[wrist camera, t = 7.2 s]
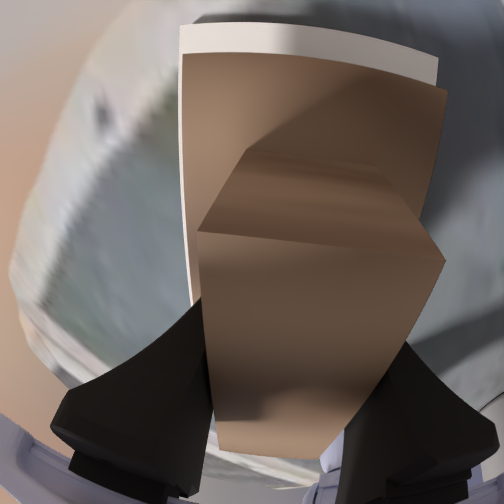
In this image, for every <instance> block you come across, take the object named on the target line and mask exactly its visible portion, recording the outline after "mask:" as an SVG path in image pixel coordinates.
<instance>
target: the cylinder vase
mask: <svg viewBox="0 0 504 504" xmlns="http://www.w3.org/2000/svg"><path fill="white" fill-rule="evenodd" d="M479 413H481V414H482V415H483V416H485V417H486V418H488V419H489V420H491V421H492V422H494V423H495V426H496V430H497V434H498V438H499V443H500V447H499V449H498V451H497V452H496V453H495V454H494V455H492V456H491V457H489V458H488V459H486V460H485V461H483V462H482V463H481V468H482V475H483V482H486V481H488V480H490V479H493V478H495V477H497V476H498V475H500V474H501V473H503V472H504V393H503V394H501V395H500V396H498V397H497V398H495V399H494V400H493V401H491V402H490V403H489V404H487V405H486V406H485V407H484V408H483V409H482V410H481V411H480V412H479Z"/></svg>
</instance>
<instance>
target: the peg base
mask: <svg viewBox="0 0 504 504" xmlns="http://www.w3.org/2000/svg"><path fill="white" fill-rule="evenodd" d="M208 52H253V53H273V54H286V55H297V56H306V57H314V58H321V59H328V60H334V61H340V62H346V63H351V64H356V65H361V66H366V67H370V68H375V69H379V70H383V71H387V72H391V73H395V74H398V75H402V76H405V77H409V78H412V79H415V80H419V81H422V82H425V83H428V84H431V85H434V86H436V79H437V70H438V57H435V56H432V55H430V54H427V53H424V52H421V51H418V50H415V49H412V48H409V47H406V46H402V45H399V44H395V43H392V42H388V41H384V40H380V39H376V38H372V37H368V36H364V35H359V34H354V33H349V32H344V31H338V30H332V29H326V28H319V27H311V26H303V25H293V24H280V23H261V22H221V23H202V24H189V25H180V42H179V79H178V121H179V160H180V183H181V201H182V216H183V230H184V242H185V254H186V264H187V274H188V284H189V293H190V302H191V307H192V306H193V298H192V288H191V278H190V268H189V257H188V245H187V231H186V217H185V200H184V180H183V154H182V56H183V54H189V53H208Z"/></svg>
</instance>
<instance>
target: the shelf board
mask: <svg viewBox="0 0 504 504" xmlns="http://www.w3.org/2000/svg"><path fill="white" fill-rule="evenodd" d="M447 95H448V90H445V89H442V88H440V87H437V86H434V85H431V84H428V83H425V82H422V81H419V80H415V79H412V78H409V77H405V76H402V75H398V74H395V73H391V72H387V71H383V70H379V69H375V68H370V67H366V66H361V65H356V64H351V63H346V62H340V61H334V60H328V59H321V58H314V57H306V56H297V55H286V54H273V53H253V52H208V53H189V54H183V56H182V154H183V180H184V200H185V217H186V231H187V245H188V257H189V268H190V278H191V288H192V298H193V305H194V304H195V302H196V301H197V300H198V299H199V298H200V297H201V301H202V313H203V324H204V334H205V344H206V353H207V362H208V371H209V379H210V387H211V395H212V402H213V410H214V417H215V424H216V430H217V437H218V443H219V450H223V451H229V452H235V453H242V454H250V455H258V456H268V457H280V458H295V459H318V458H319V457H320V456H321V455H322V453H323V452H324V451H325V450H326V449H327V448H328V447H329V446H330V444H331V443H332V442H333V441H334V440H335V439H336V438H337V436H338V435H339V434H340V433H341V432H342V430H343V429H344V428H345V427H346V425H347V424H348V423H349V422H350V420H351V419H352V418H353V417H354V415H355V414H356V413H357V411H358V410H359V409H360V408H361V406H362V405H363V404H364V402H365V401H366V400H367V398H368V397H369V395H370V394H371V393H372V391H373V390H374V388H375V387H376V386H377V384H378V383H379V381H380V380H381V378H382V377H383V375H384V374H385V372H386V371H387V369H388V368H389V366H390V365H391V363H392V362H393V360H394V358H395V357H396V355H397V354H398V352H399V350H400V349H401V347H402V345H403V344H404V342H405V340H406V339H407V337H408V335H409V333H410V332H411V330H412V328H413V326H414V325H415V323H416V321H417V319H418V317H419V315H420V314H421V312H422V310H423V308H424V306H425V304H426V302H427V300H428V298H429V296H430V294H431V292H432V290H433V288H434V286H435V284H436V282H437V280H438V277H439V275H440V273H441V271H442V269H443V266H444V264H445V262H446V260H445V258H444V256H443V255H442V253H441V252H440V250H439V249H438V247H437V246H436V244H435V243H434V241H433V240H432V238H431V237H430V235H429V234H428V232H427V231H426V230H425V228H424V227H423V225H422V224H421V223H420V221H419V219H420V216H421V212H422V209H423V206H424V202H425V199H426V195H427V192H428V188H429V184H430V181H431V177H432V173H433V169H434V165H435V160H436V156H437V151H438V147H439V142H440V137H441V132H442V126H443V121H444V115H445V109H446V102H447Z"/></svg>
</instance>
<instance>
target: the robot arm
mask: <svg viewBox="0 0 504 504" xmlns="http://www.w3.org/2000/svg"><path fill="white" fill-rule="evenodd" d="M212 413H213V402H212V395H211V387H210V379H209V371H208V362H207V353H206V344H205V334H204V324H203V313H202V301H201V297H200V298H199V299H198V300H197V301H196V302H195V304H194V305H193V306H192V307H191V308H190V309H189V310H188V311H187V312H186V313H185V314H184V315H183V316H182V317H181V318H180V319H179V320H178V321H177V322H176V323H175V324H174V325H173V326H172V327H170V328H169V329H168V330H167V331H166V332H165V333H164V334H162V335H161V336H160V337H159V338H158V339H156V340H155V341H154V342H153V343H151V344H150V345H149V346H147V347H146V348H145V349H143V350H142V351H140V352H139V353H138V354H136V355H135V356H133V357H132V358H130V359H129V360H127V361H126V362H124V363H122V364H121V365H119V366H117V367H115V368H114V369H112V370H110V371H109V372H107V373H105V374H103V375H101V376H99V377H98V378H95V379H93V380H91V381H89V382H87V383H85V384H82V385H80V386H78V387H76V388H73V389H71V390H68V392H67V393H66V395H65V397H64V398H63V400H62V402H61V404H60V406H59V408H58V410H57V412H56V414H55V416H54V418H53V420H52V422H51V424H50V428H51V430H52V431H53V433H54V434H56V435H57V436H58V437H59V438H60V439H61V440H62V441H64V442H65V443H66V444H67V445H69V446H70V447H71V448H73V449H74V450H75V452H74V454H73V457H72V459H70V458H69V457H67V456H65V455H63V454H61V453H59V452H57V451H56V450H54V449H52V448H50V447H48V446H46V445H45V444H43V443H42V442H40V441H38V440H36V439H35V438H34V437H33V436H32V435H31V434H30V433H29V432H27V431H26V430H25V429H23V428H22V427H21V426H19V425H18V424H16V423H15V422H13V421H12V420H10V419H9V418H8V417H6V416H4V415H3V414H2V413H0V486H1V487H2V488H3V489H5V490H6V491H7V492H8V493H9V494H10V495H11V496H12V497H14V498H15V499H16V500H17V501H18V502H19V503H20V504H198V503H193V502H189V501H184V500H180V499H179V496H180V497H184V498H188V497H190V496H192V495H194V494H196V493H198V492H199V486H200V480H201V474H202V468H203V462H204V456H205V450H206V445H207V439H208V434H209V429H210V423H211V418H212ZM499 447H500V443H499V438H498V434H497V430H496V426H495V423H494V422H492V421H491V420H489V419H488V418H486V417H485V416H483V415H482V414H481V413H479V412H478V411H476V410H475V409H473V408H472V407H471V406H469V405H468V404H467V403H466V402H464V401H463V400H462V399H461V398H460V397H458V396H457V395H456V394H455V393H454V392H453V391H451V390H450V389H449V388H448V387H447V386H446V385H445V384H444V383H443V382H442V381H441V380H440V379H439V378H438V377H437V376H436V375H435V374H434V373H433V372H432V371H431V370H430V369H429V368H428V367H427V366H426V364H425V363H424V362H423V361H422V360H421V359H420V358H419V357H418V355H417V354H416V353H415V352H414V351H413V349H412V348H411V347H410V346H409V344H408V343H407V342H406V340H405V342H404V344H403V345H402V347H401V349H400V350H399V352H398V354H397V355H396V357H395V358H394V360H393V362H392V363H391V365H390V366H389V368H388V369H387V371H386V372H385V374H384V375H383V377H382V378H381V380H380V381H379V383H378V384H377V386H376V387H375V388H374V390H373V391H372V393H371V394H370V395H369V397H368V398H367V400H366V401H365V402H364V404H363V405H362V406H361V408H360V409H359V410H358V411H357V413H356V414H355V415H354V417H353V418H352V419H351V420H350V422H349V423H348V424H347V425H346V427H345V428H344V429H343V430H342V432H341V433H340V434H339V435H338V436H337V438H336V439H335V440H334V441H333V442H332V443H331V444H330V446H329V447H328V448H327V449H326V450H325V451H324V452H323V453H322V455H321V456H320V462H321V466H322V468H323V470H324V472H325V473H324V474H320V478H319V482H318V483H314V484H313V485H312V486H311V487H310V489H309V490H308V491H307V492H306V494H305V495H304V498H303V501H302V504H504V472H503V473H501V474H500V475H498V476H497V477H495V478H493V479H490V480H488V481H486V482H483V483H481V484H478V485H475V486H473V487H470V488H468V485H467V480H468V479H470V478H471V477H472V473H471V468H473V467H475V466H476V465H478V464H480V463H482V462H483V461H485V460H486V459H488V458H489V457H491V456H492V455H494V454H495V453H496V452H497V451H498V449H499Z"/></svg>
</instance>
